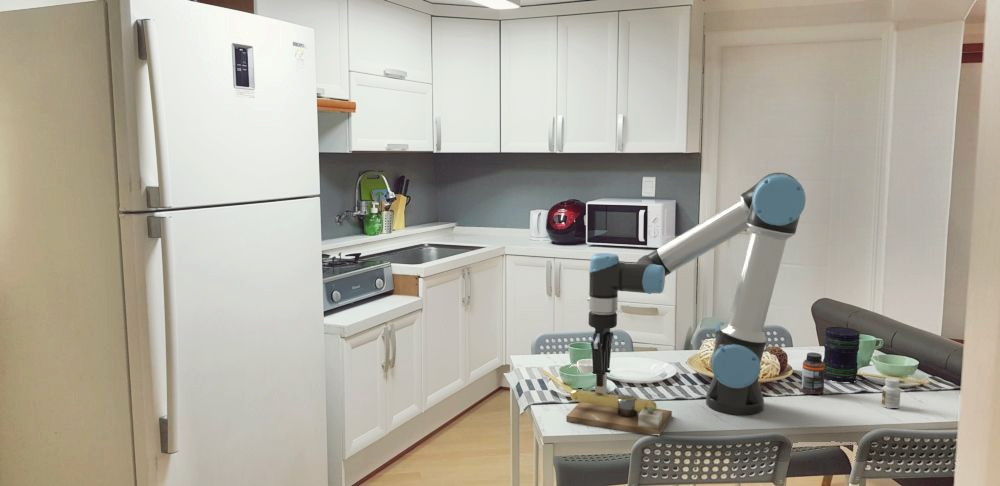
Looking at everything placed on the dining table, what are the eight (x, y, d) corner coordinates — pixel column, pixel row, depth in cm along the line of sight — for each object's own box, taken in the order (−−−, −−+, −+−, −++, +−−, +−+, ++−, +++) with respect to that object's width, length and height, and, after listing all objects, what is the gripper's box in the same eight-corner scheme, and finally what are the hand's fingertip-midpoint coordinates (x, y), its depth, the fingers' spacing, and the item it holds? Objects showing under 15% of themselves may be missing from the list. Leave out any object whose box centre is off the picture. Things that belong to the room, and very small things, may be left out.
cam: (658, 414, 200) (658, 398, 199) (653, 421, 195) (654, 404, 195) (573, 401, 209) (573, 386, 208) (567, 407, 205) (567, 391, 204)
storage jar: (831, 371, 243) (834, 325, 241) (862, 379, 235) (866, 331, 233) (815, 377, 237) (818, 330, 235) (847, 385, 229) (850, 336, 227)
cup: (600, 393, 221) (600, 366, 220) (565, 391, 223) (565, 364, 221) (600, 385, 228) (601, 359, 227) (566, 384, 229) (567, 357, 228)
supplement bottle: (811, 387, 227) (814, 350, 226) (828, 393, 222) (830, 355, 220) (796, 390, 225) (798, 352, 223) (812, 396, 220) (815, 358, 218)
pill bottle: (882, 402, 215) (884, 375, 214) (899, 405, 213) (902, 378, 212) (880, 407, 211) (882, 380, 210) (898, 410, 209) (900, 383, 208)
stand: (671, 416, 204) (672, 394, 203) (659, 436, 190) (659, 412, 189) (584, 403, 213) (584, 381, 212) (566, 421, 200) (566, 398, 199)
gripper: (596, 305, 214) (594, 387, 217) (581, 315, 202) (579, 402, 206) (623, 308, 211) (620, 391, 214) (609, 318, 199) (607, 406, 203)
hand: (600, 396), depth 210 cm, fingers closed
